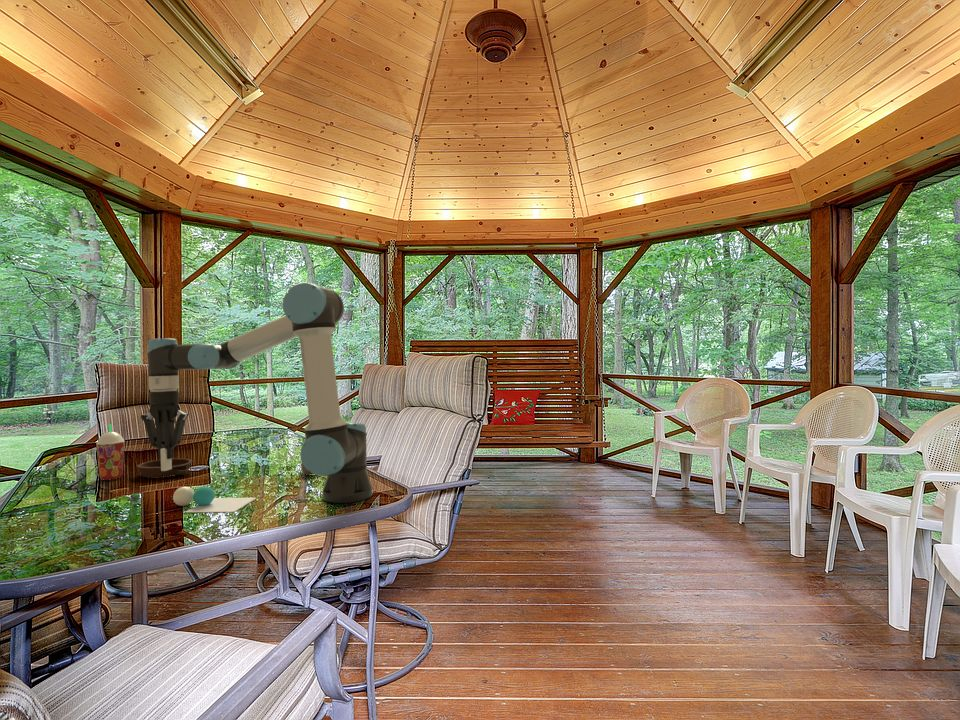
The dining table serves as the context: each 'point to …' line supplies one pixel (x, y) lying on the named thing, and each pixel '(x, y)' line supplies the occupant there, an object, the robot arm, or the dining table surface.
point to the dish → (154, 470)
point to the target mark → (222, 505)
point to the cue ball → (183, 496)
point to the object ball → (204, 496)
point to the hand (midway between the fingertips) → (166, 469)
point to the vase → (305, 469)
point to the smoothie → (110, 455)
